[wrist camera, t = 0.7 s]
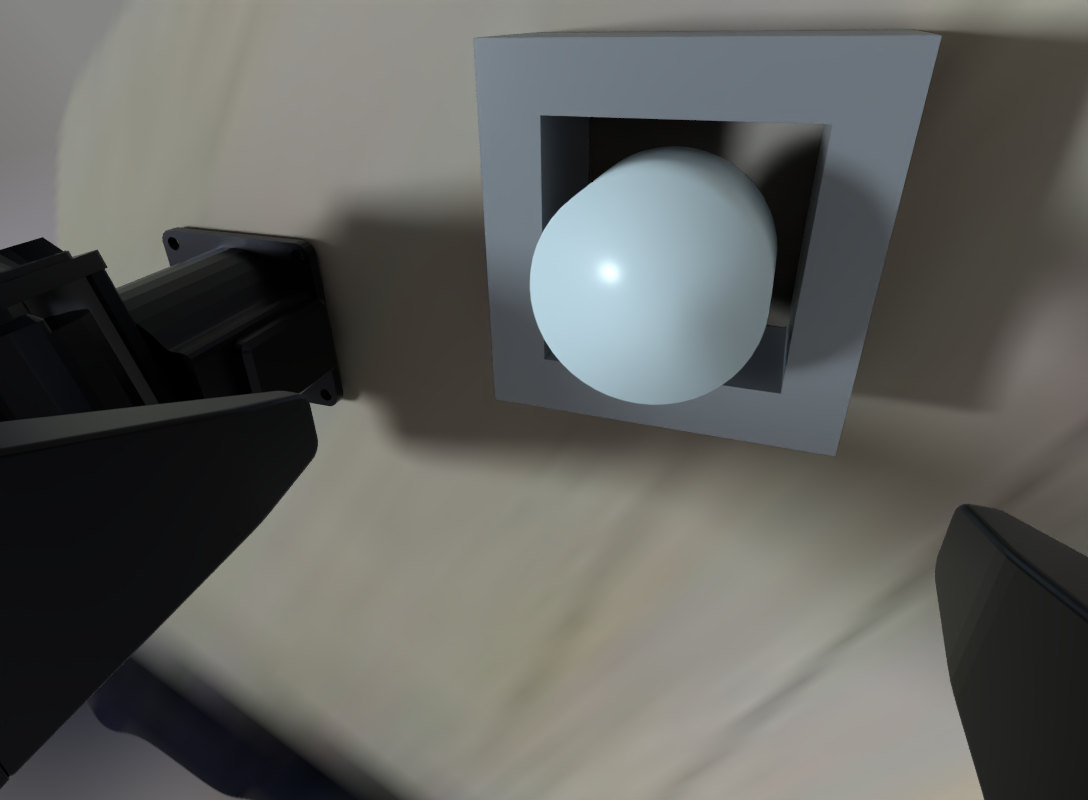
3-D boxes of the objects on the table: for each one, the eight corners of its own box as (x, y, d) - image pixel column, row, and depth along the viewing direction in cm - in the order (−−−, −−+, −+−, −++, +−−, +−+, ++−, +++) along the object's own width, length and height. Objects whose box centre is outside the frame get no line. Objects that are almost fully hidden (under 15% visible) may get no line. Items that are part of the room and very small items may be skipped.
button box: (541, 341, 22) (494, 399, 19) (536, 32, 17) (473, 37, 14) (831, 381, 19) (835, 457, 16) (913, 29, 15) (941, 35, 12)
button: (571, 333, 17) (532, 386, 15) (572, 142, 15) (526, 166, 13) (760, 358, 16) (750, 421, 14) (795, 151, 14) (791, 182, 11)
